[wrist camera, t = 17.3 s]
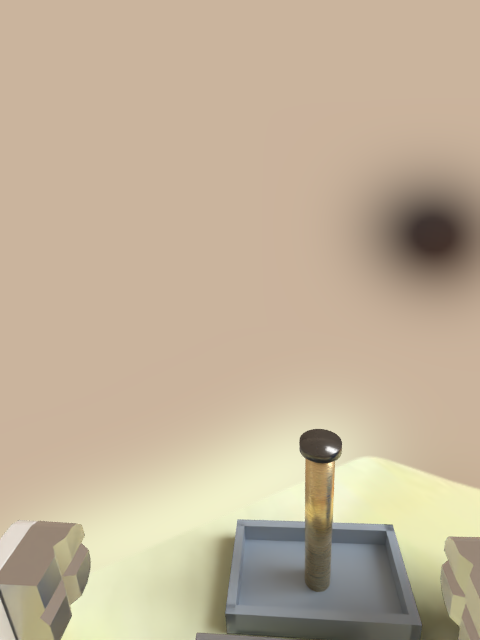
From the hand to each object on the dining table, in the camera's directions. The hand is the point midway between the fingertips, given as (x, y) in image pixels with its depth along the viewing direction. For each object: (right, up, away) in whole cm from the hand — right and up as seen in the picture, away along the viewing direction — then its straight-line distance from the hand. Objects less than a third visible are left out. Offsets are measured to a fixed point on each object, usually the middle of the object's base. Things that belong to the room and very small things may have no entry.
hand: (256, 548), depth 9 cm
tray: (+7, -20, +31) cm, 37 cm away
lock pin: (+7, -20, +30) cm, 37 cm away
